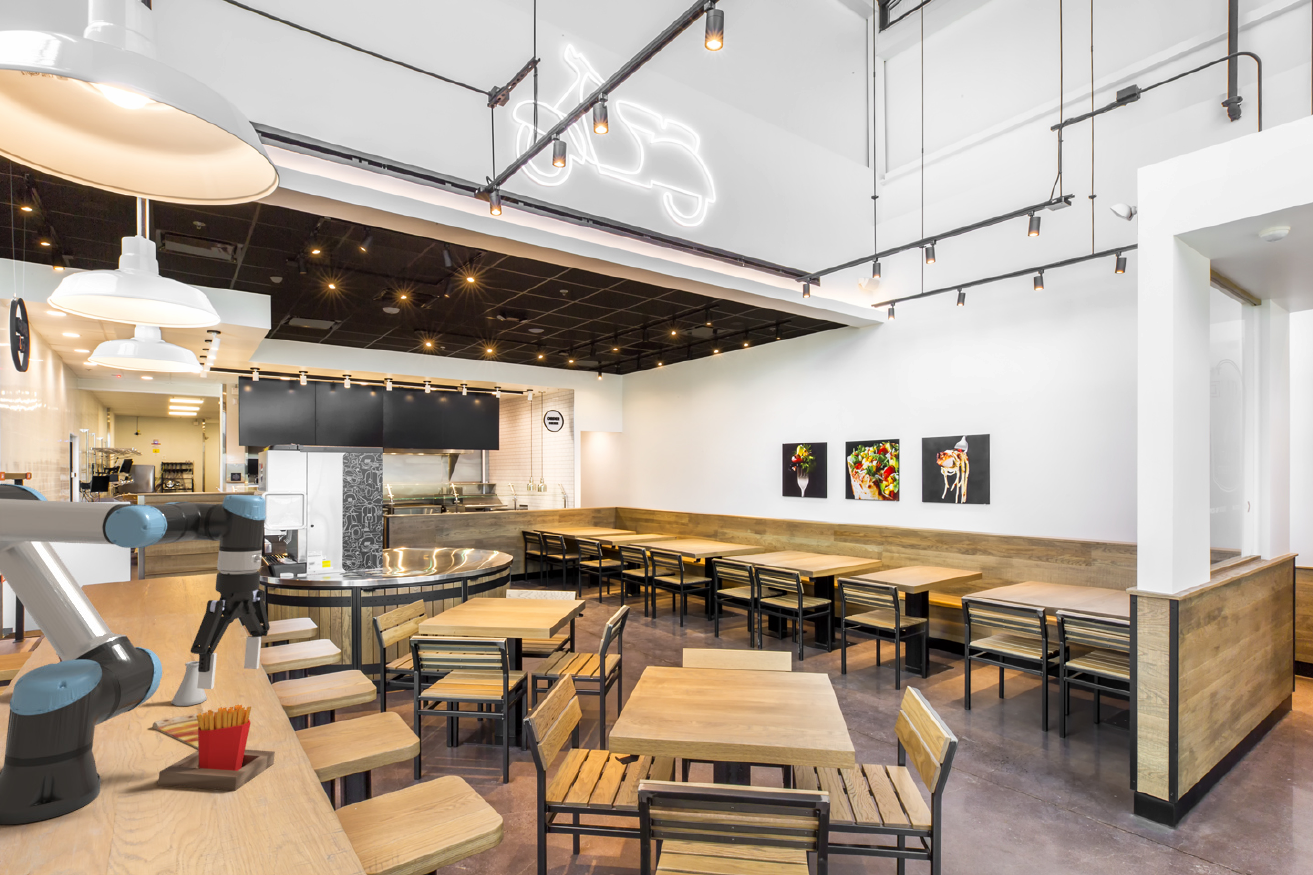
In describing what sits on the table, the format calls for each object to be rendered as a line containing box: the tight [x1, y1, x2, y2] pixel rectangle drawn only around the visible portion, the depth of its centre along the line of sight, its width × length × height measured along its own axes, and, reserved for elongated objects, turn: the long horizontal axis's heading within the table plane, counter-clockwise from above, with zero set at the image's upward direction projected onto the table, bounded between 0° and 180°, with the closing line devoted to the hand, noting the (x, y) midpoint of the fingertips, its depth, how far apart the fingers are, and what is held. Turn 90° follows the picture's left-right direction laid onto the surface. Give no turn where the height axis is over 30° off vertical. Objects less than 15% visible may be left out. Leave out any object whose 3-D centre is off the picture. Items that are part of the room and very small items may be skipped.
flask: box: [170, 660, 208, 707], centre depth 169 cm, size 7×7×10 cm
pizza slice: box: [151, 710, 218, 750], centre depth 149 cm, size 16×22×2 cm
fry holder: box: [157, 748, 276, 791], centre depth 130 cm, size 12×15×2 cm
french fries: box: [196, 704, 252, 771], centre depth 131 cm, size 9×4×13 cm, turn 130°
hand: (229, 677), depth 132 cm, fingers open, 13 cm apart
